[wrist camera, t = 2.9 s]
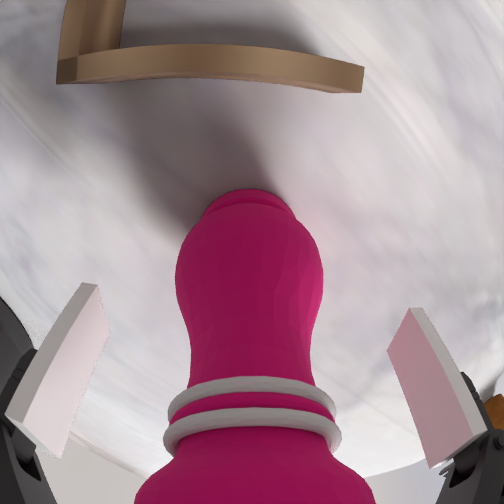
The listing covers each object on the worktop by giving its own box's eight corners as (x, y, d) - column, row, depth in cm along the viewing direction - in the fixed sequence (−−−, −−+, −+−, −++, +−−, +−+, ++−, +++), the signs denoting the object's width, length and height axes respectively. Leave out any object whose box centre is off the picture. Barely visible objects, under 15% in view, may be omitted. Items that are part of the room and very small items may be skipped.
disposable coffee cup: (512, 386, 36) (533, 427, 26) (483, 414, 41) (500, 454, 30) (496, 389, 34) (519, 436, 24) (463, 419, 39) (481, 464, 28)
